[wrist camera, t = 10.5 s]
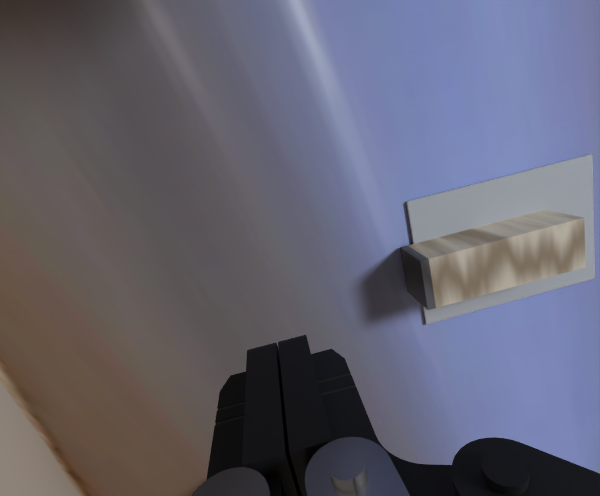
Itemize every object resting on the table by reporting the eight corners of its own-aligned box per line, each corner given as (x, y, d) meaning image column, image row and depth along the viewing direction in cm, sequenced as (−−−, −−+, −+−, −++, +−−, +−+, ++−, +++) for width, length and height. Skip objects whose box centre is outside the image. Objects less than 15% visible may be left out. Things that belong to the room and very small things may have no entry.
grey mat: (406, 201, 38) (407, 201, 38) (589, 154, 39) (592, 154, 39) (425, 323, 42) (426, 324, 42) (592, 277, 43) (594, 278, 43)
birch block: (420, 261, 35) (584, 217, 35) (400, 247, 39) (544, 209, 40) (428, 310, 36) (585, 267, 37) (407, 291, 41) (547, 253, 41)
